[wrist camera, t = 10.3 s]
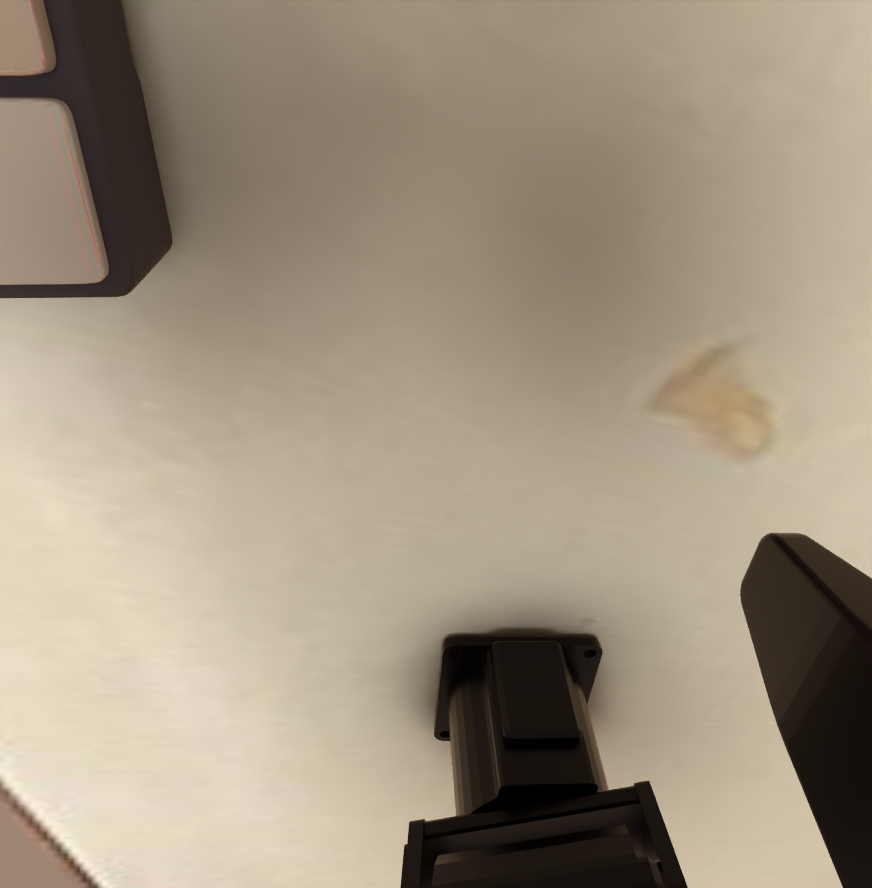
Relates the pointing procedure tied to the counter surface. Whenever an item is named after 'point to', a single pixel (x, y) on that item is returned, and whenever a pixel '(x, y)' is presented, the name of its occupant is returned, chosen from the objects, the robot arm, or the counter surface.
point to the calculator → (74, 155)
